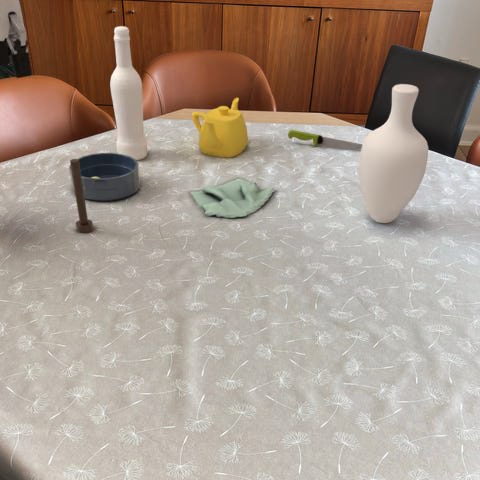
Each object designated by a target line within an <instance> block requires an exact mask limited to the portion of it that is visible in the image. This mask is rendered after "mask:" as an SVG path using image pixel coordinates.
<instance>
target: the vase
mask: <svg viewBox="0 0 480 480" xmlns="http://www.w3.org/2000/svg"><path fill="white" fill-rule="evenodd" d="M419 91H420V89H419V88H418V86H415V85H413V84H409V83H408V84H407V83H398V84H395V85H394V86H392V88H391V110H390V113H389V116H388V119H387V120H386V121H385V123H384V124H382V125H381V126H379V127H377V128H375V129H373V130H372V131H370V132H369V133H368V134H367V135H366V136H365V138H364V139H363V141H362V144H363V145H362V148H361V149H360V153H359V158H358V163H357V164H358V166H357V172H358V173H357V174H358V185H359V191H360V194H361V197H362V199H363V202H364V204H365V208H366V210H367V212H368V215H369V216H370V218H371V219H372V220H373V221H375V222H376V223H380V224H388V223H392V222H393V221H395V220H396V219H397V218H398V217H399V216H400V214H401V213H402V212H403V211H404V210H405V208H406V207H407V206H408V205H409V204H410V202H411V201H412V200H413V198H414V197H415V195H416V194H417V192H418V190H419V189H420V186H421V184H422V181H423V179H424V177H425V174H426V171H427V170H426V169H427V164H428V158H429V145H428V141H427V140H426V138H425V137H424V136H423V135H422V134H421V133H420V132H419V131H418V130H417V129H416V127H415V126H414V123H413V111H414V106H415V103H416V101H417V98H418V95H419V93H420V92H419Z"/></svg>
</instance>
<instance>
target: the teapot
mask: <svg viewBox="0 0 480 480" xmlns="http://www.w3.org/2000/svg"><path fill="white" fill-rule="evenodd" d="M239 101H240V99H239V97H235V98H234V99H233V100H232V103H231V108H229V107H228V106H226V105H221V106H220V105H219V106H218V107H216V108H212V109H211V110H209V111H208V112H207V113H205V112H202V111H193V112H192V113H191V119H192V122H193V125H194V126H195V128H196V130H197V131H198V132H199V135H198V146H199V149H200V151H201V153H202V154H204V155H207V156H212V157H218V158H227V159H229V158H230V159H231V158H234V157H236V156H237V157H238V155H240V154H241V153H243V152H244V150H245V149H246V146H247V144H248V139H249V137H248V129H247V124H246V121H245V117H244V116H243V114H242V112H241V110H239V108H238V105H239ZM200 118H203V120H202V123H201V122H200Z"/></svg>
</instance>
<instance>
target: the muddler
mask: <svg viewBox="0 0 480 480" xmlns="http://www.w3.org/2000/svg"><path fill="white" fill-rule="evenodd" d="M69 161H70V162H69V163H70V164H71V170H72V177H73V183H74V189H75V192H74V195H75V200H76V207H77V213H78V220H77V221H76V222H75V228H76V231H77V232H78V233H81V234H88V233H91V232H93V231H94V224H93V223H94V222H93V221H92V219H88V212H87V205H86V198H85V197H84V190H83V184H82V177H81V170H80V164H79V160H78V158H72V159H70V160H69ZM70 164H69V165H70Z"/></svg>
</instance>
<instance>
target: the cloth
mask: <svg viewBox="0 0 480 480" xmlns="http://www.w3.org/2000/svg"><path fill="white" fill-rule="evenodd" d="M202 187H203V188H202V190H197V191H190V194H191V196H192V198H193V199H194V200H195V202H196V204H198V206H199V207H200V209H201V210H203V211H205V212H204V214H205V216H206V217H215V218H224V219H225V218H226V219H235V218H247V216H249V215H251V214H253V213H255V212H257V211H258V210H259V209H261V208H262V206H264V205H265V204H266V202H268V201H269V199H270V198H271V197H272V195H273V193H274V192H275V191H276V190H275V188H274V187H270V188H269V187H267V188H265V189H264V190H262V189H260V188H259V186H258V185H257V182H255V181H253V182H248V181H246V180H244V179H242V178H236V179H234V180H231V181H228V182H226V183H223V184H221V185H219V186H217V185H205V186H202Z"/></svg>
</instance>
